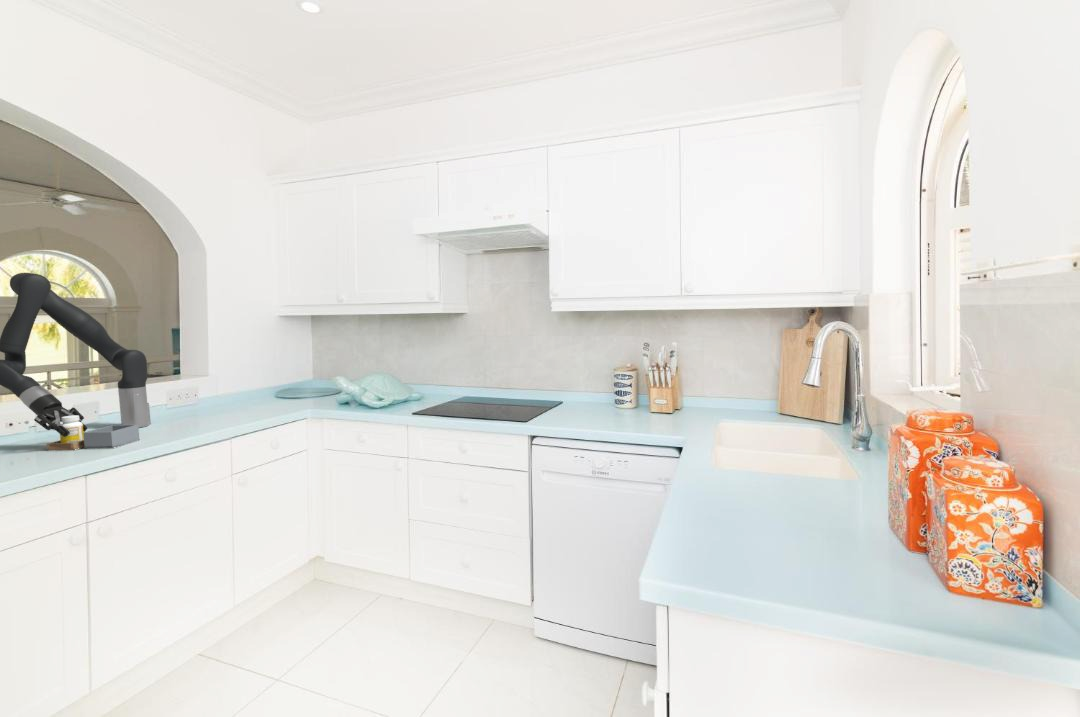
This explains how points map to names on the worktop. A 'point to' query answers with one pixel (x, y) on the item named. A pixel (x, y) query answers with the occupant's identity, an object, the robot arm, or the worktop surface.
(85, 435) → the bin
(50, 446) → the wooden tray
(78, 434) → the supplement bottle
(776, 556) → the worktop surface
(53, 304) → the robot arm
